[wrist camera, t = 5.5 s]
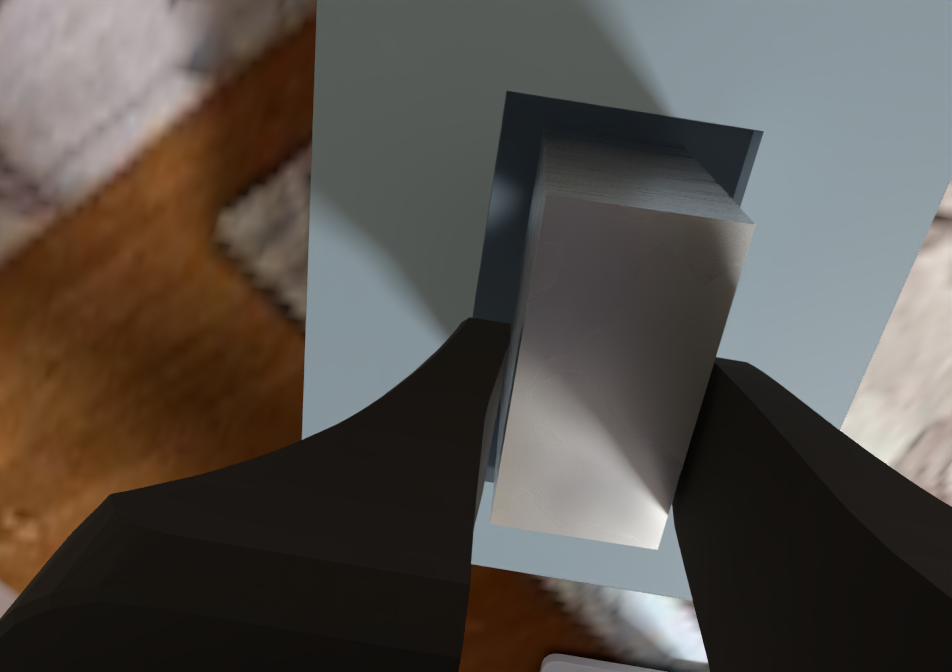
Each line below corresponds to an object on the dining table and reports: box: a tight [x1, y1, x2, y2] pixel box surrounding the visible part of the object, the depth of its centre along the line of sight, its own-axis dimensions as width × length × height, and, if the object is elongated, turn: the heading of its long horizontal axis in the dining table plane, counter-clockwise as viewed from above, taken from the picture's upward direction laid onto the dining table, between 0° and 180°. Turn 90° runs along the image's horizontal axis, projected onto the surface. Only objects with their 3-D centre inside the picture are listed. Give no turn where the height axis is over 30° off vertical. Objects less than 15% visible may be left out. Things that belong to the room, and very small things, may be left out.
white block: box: [490, 125, 756, 550], centre depth 12 cm, size 5×2×5 cm, turn 173°
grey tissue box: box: [302, 0, 952, 601], centre depth 16 cm, size 12×10×6 cm
